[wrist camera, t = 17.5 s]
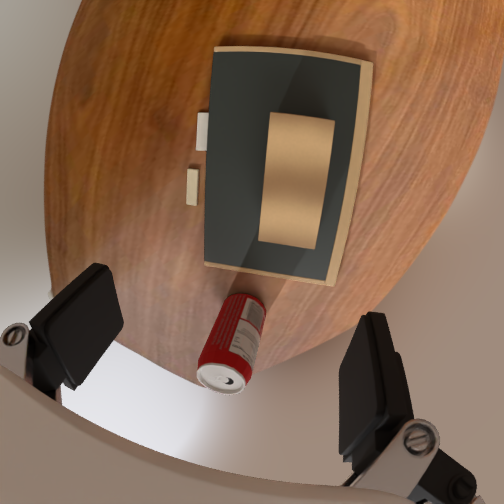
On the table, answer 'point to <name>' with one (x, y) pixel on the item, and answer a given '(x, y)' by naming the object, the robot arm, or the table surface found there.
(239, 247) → the chalkboard
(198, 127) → the white chalk stick
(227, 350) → the soda can
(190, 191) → the chalk mark
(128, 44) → the table surface
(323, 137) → the eraser
